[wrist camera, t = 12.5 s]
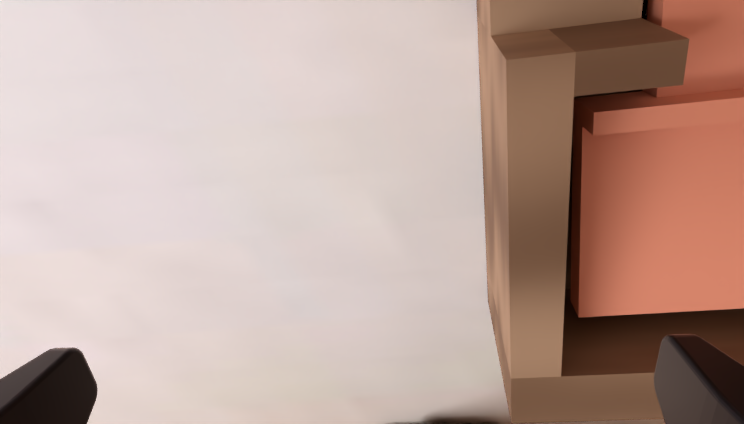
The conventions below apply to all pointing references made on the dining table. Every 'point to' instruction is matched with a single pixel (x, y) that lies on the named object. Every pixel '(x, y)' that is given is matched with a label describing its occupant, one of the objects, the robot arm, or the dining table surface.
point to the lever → (664, 179)
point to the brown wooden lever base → (566, 207)
